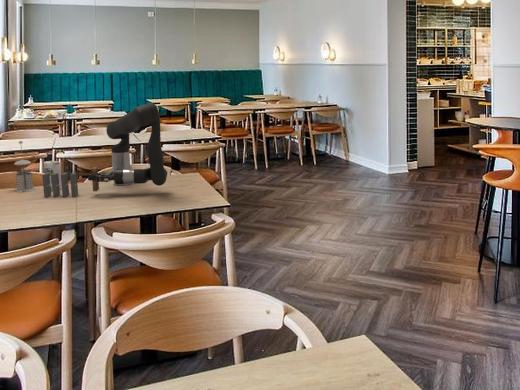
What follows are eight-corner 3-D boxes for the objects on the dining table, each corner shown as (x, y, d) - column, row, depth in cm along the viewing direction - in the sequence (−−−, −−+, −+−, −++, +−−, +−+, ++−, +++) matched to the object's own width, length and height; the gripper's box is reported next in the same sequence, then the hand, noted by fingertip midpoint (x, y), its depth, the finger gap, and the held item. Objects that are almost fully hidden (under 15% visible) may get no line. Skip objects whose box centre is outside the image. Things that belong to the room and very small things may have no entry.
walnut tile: (99, 189, 274) (97, 166, 272) (96, 191, 269) (95, 168, 267) (95, 189, 274) (93, 166, 272) (92, 191, 269) (91, 168, 267)
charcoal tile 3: (69, 194, 274) (67, 172, 271) (66, 197, 269) (64, 174, 266) (65, 194, 274) (63, 172, 271) (62, 197, 269) (60, 174, 266)
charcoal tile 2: (78, 194, 274) (76, 172, 272) (75, 196, 269) (73, 174, 267) (74, 194, 274) (72, 172, 271) (71, 197, 269) (69, 174, 267)
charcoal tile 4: (60, 195, 274) (58, 172, 271) (57, 197, 269) (55, 174, 266) (56, 195, 273) (54, 172, 271) (53, 197, 269) (51, 174, 266)
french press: (34, 187, 293) (30, 139, 288) (36, 191, 283) (32, 141, 278) (14, 188, 289) (9, 140, 284) (15, 193, 279) (10, 142, 274)
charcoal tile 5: (51, 195, 273) (49, 173, 271) (48, 197, 268) (46, 174, 266) (47, 195, 273) (45, 173, 271) (44, 197, 268) (42, 174, 266)
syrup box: (45, 190, 285) (42, 161, 282) (54, 188, 290) (52, 160, 287) (53, 191, 283) (50, 162, 279) (62, 189, 288) (60, 161, 285)
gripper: (127, 166, 277) (92, 166, 276) (122, 171, 263) (85, 172, 262) (128, 181, 279) (93, 181, 278) (122, 187, 265) (86, 187, 264)
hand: (89, 177), depth 270 cm, fingers closed on walnut tile, 5 cm apart
